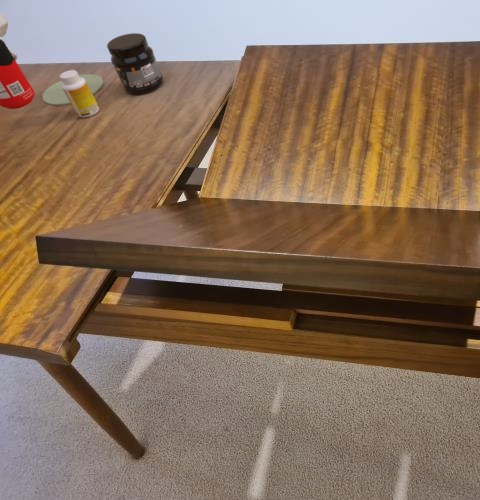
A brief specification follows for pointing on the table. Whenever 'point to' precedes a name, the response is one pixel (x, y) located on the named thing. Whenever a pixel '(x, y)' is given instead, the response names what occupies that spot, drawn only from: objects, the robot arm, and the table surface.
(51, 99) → the mat
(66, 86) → the supplement bottle
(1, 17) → the robot arm
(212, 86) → the table surface
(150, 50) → the supplement container
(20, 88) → the beverage can
